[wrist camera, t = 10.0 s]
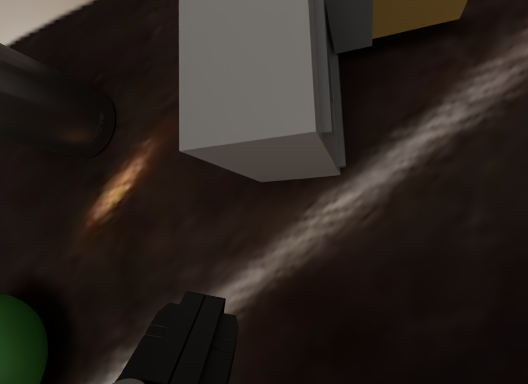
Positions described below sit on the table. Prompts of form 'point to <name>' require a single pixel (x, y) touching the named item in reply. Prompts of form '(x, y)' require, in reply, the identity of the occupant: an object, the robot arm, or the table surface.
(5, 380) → the toy bird
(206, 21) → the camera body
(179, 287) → the table surface
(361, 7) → the door
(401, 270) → the table surface
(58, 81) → the robot arm
